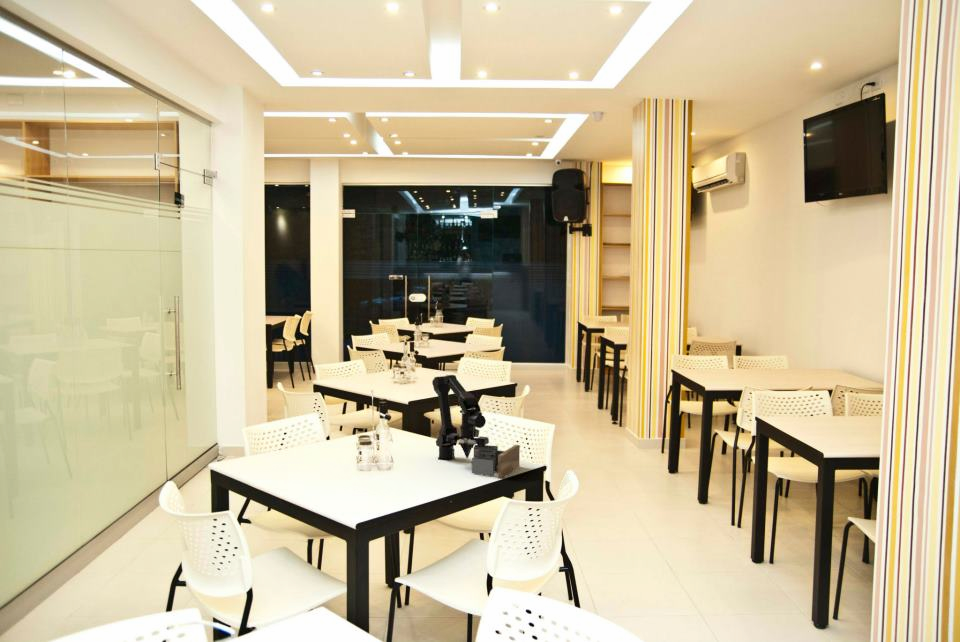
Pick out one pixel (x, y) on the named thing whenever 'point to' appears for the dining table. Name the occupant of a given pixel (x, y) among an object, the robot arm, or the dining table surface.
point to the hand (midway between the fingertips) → (467, 457)
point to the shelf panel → (508, 461)
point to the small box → (486, 453)
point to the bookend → (483, 466)
